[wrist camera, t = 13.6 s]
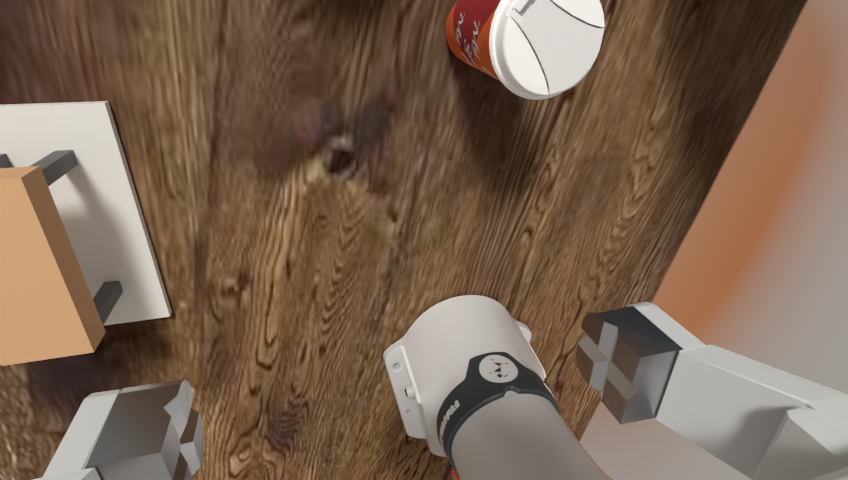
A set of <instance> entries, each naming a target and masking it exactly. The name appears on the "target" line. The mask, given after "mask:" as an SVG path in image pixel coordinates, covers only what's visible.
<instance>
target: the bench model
mask: <svg viewBox="0 0 848 480" xmlns="http://www.w3.org/2000/svg"><path fill="white" fill-rule="evenodd" d="M77 165H78V163H77V160H76V157H75V155H74V152H73V150H59V151H54V152H52V153H50V154H49V155H47V156H45V157H44V158H42V159H40V160H39V161H37V162H36V163H34V164H32V165H31V166H29V167H13V168H12V166H11V164H10V162H9V159H8V157H7V155H6V153H5V154H0V365H1V366H4V365H11V364H18V363H25V362H32V361H38V360H45V359H52V358H59V357H66V356H72V355H79V354H86V353H93V352H95V350H96V348H97V346H98V345H99V343H100V341H101V339H102V338H103V336H104V334H105V329H104V327H103V325H104V323H105V321H106V320H107V318H108V316H109V315H110V313H111V311H112V310H113V308H114V306H115V305H116V303H117V301H118V299H119V298H120V296H121V294H122V293H123V290H122V287H121V284H120V282H119V281H111V282H104V283H103V285H102V286H101V287H100V289H99V290H98V292H97V293H96V295H95V296H94V298H93V299H92V296H91V294H90V291H89V289H88V286H87V284H86V281H85V278H84V276H83V273H82V271H81V268H80V266H79V263H78V261H77V258H76V256H75V253H74V251H73V248H72V246H71V243H70V241H69V238H68V235H67V233H66V230H65V228H64V225H63V223H62V220H61V218H60V215H59V213H58V210H57V208H56V205H55V203H54V200H53V197H52V195H51V192H50V190H49V187H48V186H50V185H51V184H52V183H54V182H55V181H56V180H58V179H59V178H61V177H62V176H63V175H65V174H66V173H67V172H69V171H70V170H71V169H73V168H74V167H76V166H77Z"/></svg>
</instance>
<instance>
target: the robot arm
mask: <svg viewBox="0 0 848 480" xmlns="http://www.w3.org/2000/svg"><path fill="white" fill-rule="evenodd" d="M581 328H582V330H583V331H584V333H585V334H586V335H585V336H584V337H583V338H582V339H581V341H580V342H579V343H578V346H577V352H576V359H577V364H578V368H579V370H580V373H581V375H582V377H583V378H584V379H585V381H586V382H587V383H588V385H590V386H592V387H593V388H595V389H597V390H599V391H601V401H602V402H603V403H604V404H605V406H606V407H607V408H608V410H609V411H610V412H611V413H612V414H613V416H614V417H615V418H616V420H617V421H618V422H619V423H620V424H625V423H630V422H635V421H640V420H645V419H650V418H655V417H656V420H657V421H659V422H661V423H662V424H664V425H665V426H667V427H669V428H670V429H672V430H673V431H675V432H677V433H678V434H680V435H681V436H683V437H685V438H686V439H688V440H689V441H691V442H693V443H695V444H696V445H698V446H699V447H701V448H702V449H704V450H706V451H707V452H709V453H710V454H712V455H714V456H715V457H717V458H718V459H720V460H722V461H723V462H725V463H727V464H728V465H730V466H731V467H733V468H735V469H736V470H738V471H739V472H741V473H743V474H744V475H746V476H747V477H749V478H751V480H848V395H847V394H844V393H842V392H839V391H836V390H834V389H831V388H828V387H825V386H822V385H820V384H817V383H815V382H812V381H809V380H806V379H804V378H801V377H798V376H796V375H793V374H790V373H788V372H785V371H782V370H779V369H777V368H774V367H771V366H769V365H766V364H763V363H760V362H758V361H755V360H752V359H750V358H747V357H744V356H741V355H739V354H736V353H733V352H730V351H728V350H725V349H723V348H720V347H717V346H714V345H707V346H706V345H705V344H703V343H702V342H701V341H699V340H698V339H697V338H696V337H694V336H693V335H692V334H691V333H689V332H688V331H687V330H686V329H684V328H683V327H682V326H681V325H680V324H678V323H677V322H676V321H675V320H673V319H672V318H671V317H670V316H668V315H667V314H666V313H665V312H663V311H662V310H661V309H660V308H658V307H657V306H656V305H655V304H652V303H649V302H643V303H638V304H633V305H628V306H625V307H618V308H613V309H607V310H601V311H595V312H589V313H587V314H586V316H585V317H584V318H583V322H582V326H581ZM530 339H531V332H530V330H529V328H528V327H527V326H526V325H525V324H523V323H521V322H519V321H516V320H514V319H513V318H512V317H511V315H510V314H509V313H508V311H507V310H506V309H505V307H503V306H502V305H501V304H500V303H499V302H497V301H495V300H493V299H491V298H488V297H484V296H479V295H464V296H458V297H453V298H450V299H447V300H445V301H442V302H440V303H438V304H436V305H434V306H433V307H431V308H430V309H428V310H427V311H425V312H424V313H423V314H422V315H421V316H420V317H419V318H418V319H417V320H416V321H415V322H414V323H413V324H412V326H411V327H410V328H409V330H408V331H407V333H406V334H405V335H404V336H403V337H402V338H401V339H400V340H398V341H397V342H395V343H394V344H392V345H391V346H390V347H389V348H387V349H386V350H385V352H384V354H383V359H384V363H385V366H386V369H387V372H388V376H389V379H390V382H391V386H392V389H393V392H394V395H395V399H396V402H397V405H398V408H399V412H400V415H401V418H402V421H403V424H404V428H405V430H406V432H407V434H408V435H409V436H411V437H414V438H421V439H426V441H427V444H428V447H429V450H430V452H431V453H433V454H435V455H437V456H441V457H446V458H447V459H449V461H450V463H451V465H452V466H453V467H454V468H455V469H453V470H452V478H453V480H613V479H611V478H610V477H609V476H608V475H607V474H606V473H605V472H604V471H603V470H602V469H601V468H600V467H599V466H598V465H597V464H596V463H595V461H594V460H593V459H592V458H591V457H590V455H589V454H588V453H587V452H586V450H585V449H584V448H583V447H582V445H581V444H580V443H579V441H578V440H577V439H576V437H575V436H574V435H573V433H572V432H571V430H570V429H569V428H568V426H567V425H566V423H565V422H564V421H563V419H562V418H561V416H560V410H559V407H558V404H557V403H556V401H555V399H554V396H553V394H552V392H551V391H550V389H549V388H548V386H547V385H546V384H545V383H544V379H545V378H546V373H545V371H544V369H543V367H542V365H541V363H540V361H539V360H538V358H537V356H536V354H535V353H534V351H533V349H532V347H531V346H530V344H529V342H530ZM395 363H398V364H395ZM394 364H395V365H394ZM193 396H194V395H193V392H192V389H191V386H190V383H189V382H188V381H187V380H178V381H171V382H164V383H157V384H150V385H143V386H136V387H129V388H124V389H119V390H112V391H105V392H98V393H92V394H90V395H89V396H88V397H86V398H85V399H84V400H83V402H82V404H81V406H80V408H79V409H78V411H77V413H76V415H75V417H74V419H73V421H72V423H71V424H70V426H69V428H68V430H67V432H66V434H65V436H64V438H63V439H62V441H61V443H60V445H59V447H58V449H57V451H56V453H55V454H54V456H53V458H52V460H51V462H50V464H49V466H48V468H47V470H46V471H45V473H44V475H43V477H42V478H38V479H33V480H193V478H192V475H193V474H194V473H195V472H196V471H197V470H198V469H199V467H200V466H201V461H202V456H203V440H204V434H203V427H202V421H201V418H200V414H199V413H198V412H197V411H195V410H194V409H192V408H191V404H192V400H193Z"/></svg>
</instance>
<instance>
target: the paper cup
mask: <svg viewBox="0 0 848 480" xmlns="http://www.w3.org/2000/svg"><path fill="white" fill-rule="evenodd" d="M445 31H446V39H447V43H448V45H449V47H450V49H451V51H452V52H453V53H454V55H455V56H456V57H458V58H459V59H460V60H462V61H463V62H465V63H467V64H468V65H470V66H472V67H474V68H476V69H478V70H480V71H482V72H484V73H486V74H488V75H490V76H491V77H493V78H495V79H497V80H499V81H501V82H502V83H503V84H504V86H505V87H506V88H507V89H509V90H510V91H511V92H513V93H514V94H516V95H518V96H520V97H523V98H527V99H534V100H538V99H546V98H550V97H553V96H556V95H558V94H560V93H562V92H564V91H566V90H568V89H570V88H572V87H574V86H575V85H577V84H578V83H579V82H580V81H581V80H582V79H583V78H584V77H585V76H586V75H587V73H588V72H589V70H590V69H591V67H592V65H593V63H594V61H595V59H596V57H597V55H598V52H599V50H600V46H601V42H602V37H603V32H604V14H603V10H602V6H601V4H600V1H599V0H459V1H458V2H457V3H456V4H455V5H454V6H453V8H452V9H451V11H450V13H449V15H448V18H447V21H446V29H445Z"/></svg>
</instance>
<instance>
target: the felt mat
mask: <svg viewBox="0 0 848 480" xmlns="http://www.w3.org/2000/svg"><path fill="white" fill-rule="evenodd" d="M59 150H73V152H74V155H75V157H76V160H77V163H78V165H77V166H76V167H74V168H73V169H71V170H70V171H69V172H67V173H66V174H65V175H63V176H62V177H61V178H59V179H58V180H56V181H55V182H54V183H52V184H51V185H50V186H48V187H49V190H50V192H51V195H52V197H53V200H54V203H55V205H56V208H57V210H58V213H59V215H60V218H61V220H62V223H63V225H64V228H65V230H66V233H67V235H68V238H69V241H70V243H71V246H72V248H73V251H74V253H75V256H76V258H77V261H78V263H79V266H80V268H81V271H82V273H83V276H84V278H85V281H86V284H87V286H88V289H89V291H90V294H91V296H92V299H93V298H94V296H95V295H96V293H97V292H98V290H99V289H100V287H101V286H102V285H103V283H104V282H111V281H119V282H120V284H121V287H122V290H123V293H122V294H121V296H120V298H119V299H118V301H117V303H116V305H115V306H114V308H113V310H112V311H111V313H110V315H109V316H108V318H107V320H106V321H105V323H104V325H103V326H105V325H112V324H119V323H127V322H134V321H142V320H149V319H156V318H164V317H170V315H171V313H172V310H171V307H170V304H169V301H168V297H167V294H166V291H165V287H164V284H163V281H162V277H161V274H160V271H159V267H158V264H157V261H156V257H155V254H154V251H153V248H152V244H151V241H150V238H149V234H148V231H147V228H146V224H145V221H144V218H143V214H142V211H141V208H140V204H139V201H138V198H137V195H136V191H135V188H134V185H133V181H132V178H131V175H130V171H129V168H128V165H127V161H126V158H125V155H124V151H123V148H122V145H121V142H120V138H119V135H118V132H117V128H116V125H115V122H114V118H113V115H112V112H111V108H110V105H109V102H108V101H99V102H69V103H39V104H8V105H0V154H5V153H6V155H7V157H8V159H9V162H10V164H11V166H12V168H13V167H29V166H31V165H32V164H34V163H36V162H37V161H39V160H40V159H42V158H44V157H45V156H47V155H49V154H50V153H52V152H54V151H59Z"/></svg>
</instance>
